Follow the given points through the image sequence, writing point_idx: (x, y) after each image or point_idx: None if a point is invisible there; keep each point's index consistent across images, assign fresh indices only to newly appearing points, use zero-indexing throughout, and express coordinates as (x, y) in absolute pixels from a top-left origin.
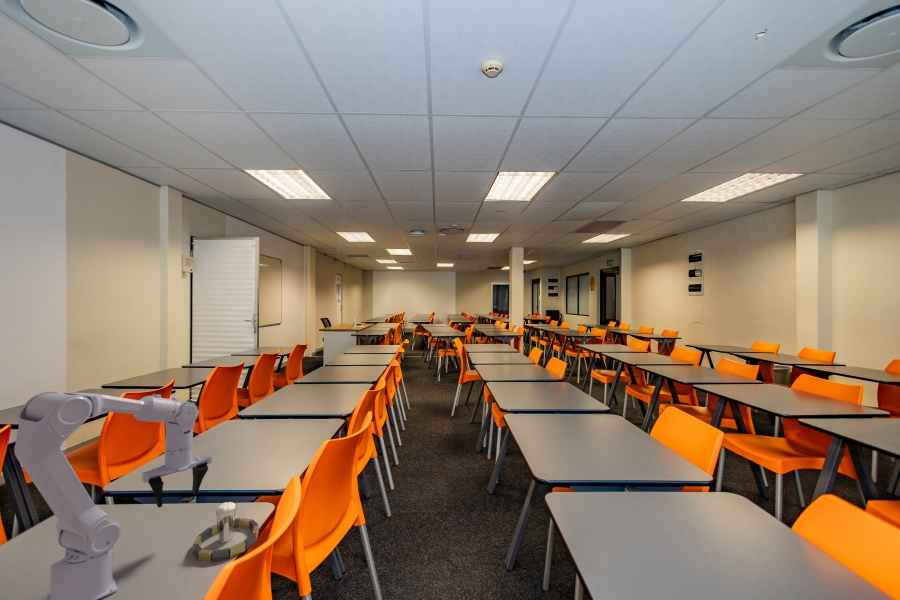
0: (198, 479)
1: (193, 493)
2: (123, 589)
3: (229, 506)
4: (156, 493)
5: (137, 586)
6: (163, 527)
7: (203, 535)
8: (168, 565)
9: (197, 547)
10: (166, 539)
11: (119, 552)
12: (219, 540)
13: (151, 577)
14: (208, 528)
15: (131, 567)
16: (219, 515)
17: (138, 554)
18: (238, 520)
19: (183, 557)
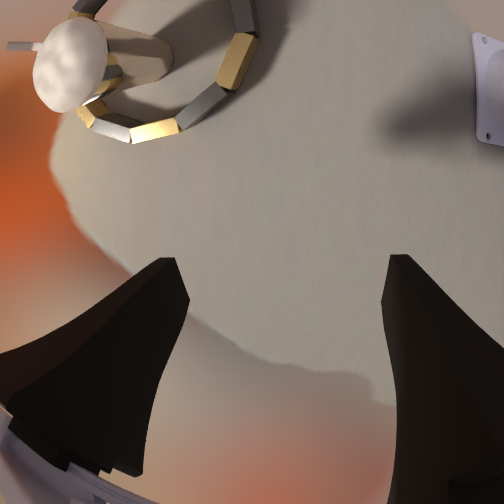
0: (85, 335)
1: (183, 285)
2: (457, 26)
3: (46, 45)
4: (490, 337)
5: (427, 3)
6: (312, 281)
7: (208, 88)
8: (342, 26)
9: (241, 5)
10: (322, 204)
11: (431, 237)
12: (167, 46)
13: (393, 8)
14: (185, 122)
15: (434, 119)
16: (102, 24)
17: (406, 180)
18: (96, 117)
19: (292, 35)
